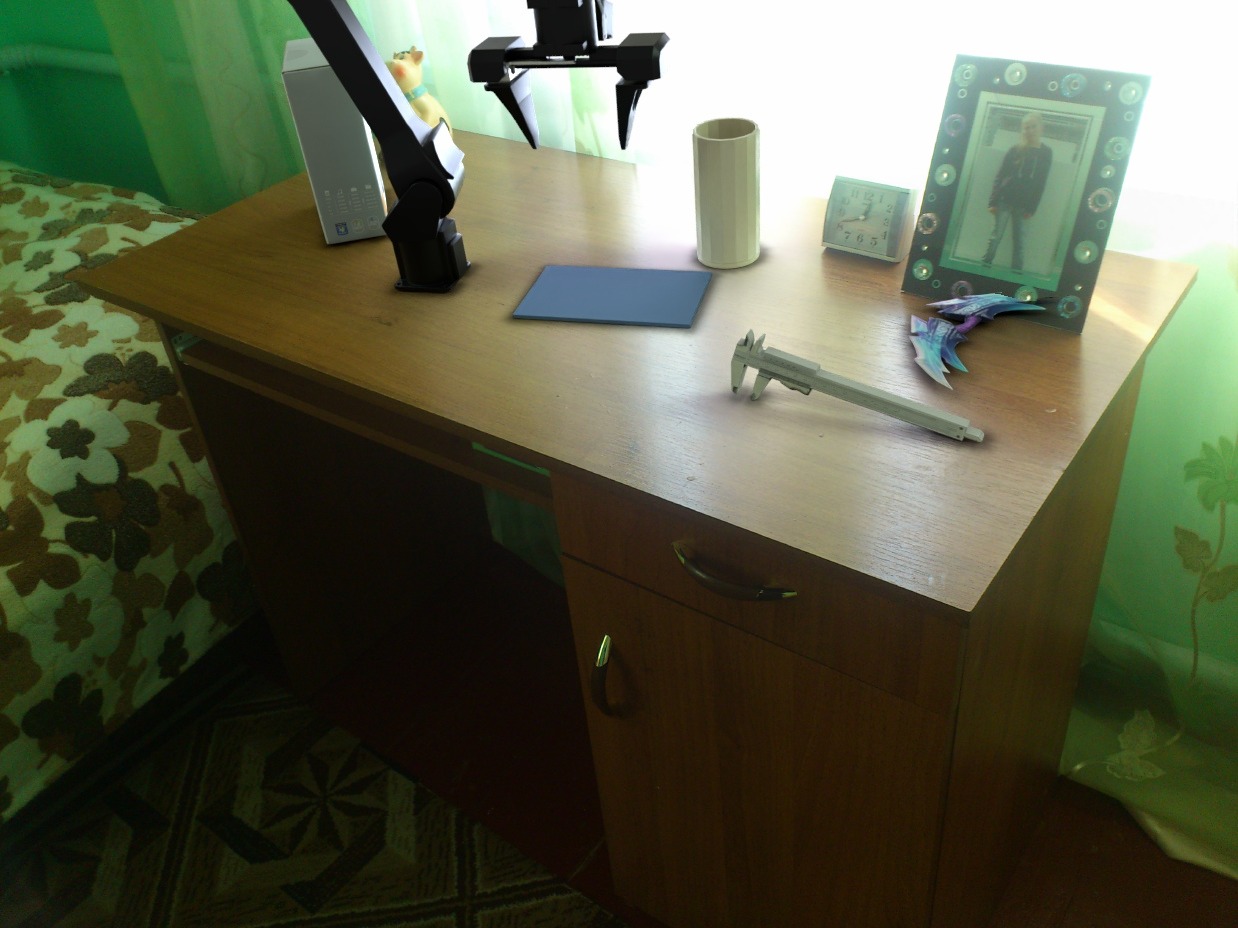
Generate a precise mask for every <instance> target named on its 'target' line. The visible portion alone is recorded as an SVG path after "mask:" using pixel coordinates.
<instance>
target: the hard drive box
mask: <svg viewBox="0 0 1238 928" xmlns="http://www.w3.org/2000/svg"><path fill="white" fill-rule="evenodd" d="M280 74H281V79H282V83H283V87H284V90H285V95H286V98H287V102H288V104H289V108H290V109H289V110H290V112H291V116H292V120H293V124H294V127H295V131H296V135H297V138H298V142H299V146H300V149H301V153H302V157H303V161H304V165H305V168H306V171H307V176H308V180H309V182H310V183H309V184H310V187H311V190H312V194H313V198H314V201H315V205H316V209H317V213H318V217H319V220H320V225H321V227H322V231H323V234H324V238H325V241H326V244H327V245H335V244H340V243H346V242H351V241H357V240H362V239H363V240H364V239H368V238H374V237H380V236H387V234H386V233H385V231H384V230H383V228H382V223H383V222H384V220H385V218H386V216H387V214H388V207H387V199H386V192H385V186H384V182H383V177H382V174H381V170H380V166H379V161H378V156H377V151H376V148H375V142H374V139H373V135H372V130H371V129H370V127H369V126H368V124H367V123H366V121H365V119H364V118H363V116H362V115H361V113H360V112H359V110H358V109H357V107H356V105H355V104H354V102H353V101H352V99H351V98H350V96H349V95H348V93H347V91H346V90H345V88H344V87H343V85H342V84H341V82H340V81H339V79H338V77H337V76H336V74H335V73H334V71H333V70H332V68H331V67H330V65H329V63H328V62H327V60H326V59H325V57H324V56H323V54H322V52H321V51H320V49H319V48H318V46H317V45H316V43H315V42H314V40H313V38H312V37H305V38H299V39H292V40H287V41H286V43H285V45H284V51H283V57H282V63H281V69H280Z"/></svg>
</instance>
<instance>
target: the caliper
mask: <svg viewBox="0 0 1238 928" xmlns="http://www.w3.org/2000/svg"><path fill="white" fill-rule="evenodd" d="M766 336H767V334H766V333H762V335H760V336H759V337H758V338H757V340H755V333H754V330H753V329H752V328H749V330H748V331H747V333H746V334H745V338H743V337H741V338H740V339H739V340H738V341H737V343H736V345H735V348H734V351H733V355H732V358H731V360H730V388H731V391H732V393H734V394H736V395H738V394H739V392H740V391H741V390H742V387H743V382H744V379H745V376H746V373H747V369H748V367H750V368H752V369H755V370H758V373H757V374H756V376H755V380H754V383H753V387H752V393H751V397H750V400H751V401H755V400H757V399H759V397H760V396H761V394H762V393H763V392H764V390H765V389H766V387H767V386H768V385H769V383H770V382H771V381H772V380H776V381H778V382H779V383H780V384H781V385H783V386H784V387H786V388H787V389H789V390H791V391H797V392H799V393H801V394H802V395H803V396H810V394H811V393H812V391H813V390H814V391H817V392H819V393H822V394H825V395H828V396H832V397H833V398H837V399H839V400H843V401H846V402H849V403H851V404H855V405H857V406H859V407H863V408H866V409H868V410H872V411H874V412H877V413H880V414H883V415H885V416H888V417H890V418H893V419H897V420H899V421H903V422H905V423H908V424H911V425H913V426H916V427H919V428H921V429H924V430H927V431H930V432H933V433H936V434H939V435H940V436H941V435H942V436H944V437H947V438H950V439H953V440H955V441H958V442H963V440H964V439H965V438H966V439H969V440H971V441H974V442H978V443H982V442H983V440H984V438H985V433H984V432H983V431H982V429H979V428H976V427H973V426H971V425H970V423H971V420H970V419H967V418H964V417H961V416H959V415H955V414H953V413H949V412H947V411H944V410H941V409H938V408H935V407H932V406H929V405H926V404H924V403H920V402H919V401H915V400H912V399H909V398H907V397H903V396H900V395H898V394H894V393H891V392H889V391H886V390H883V389H880V388H877V387H874V386H872V385H868V384H865V383H862V382H859V381H857V380H855V379H851V378H847V377H846V376H842V375H839V374H836V373H833V372H831V371H827V370H825V369H823V368H822V369H821V364H820V363H818V362H815V361H812V360H810V359H806V358H803V357H800V356H798V355H795V354H793V353H789V352H787V351H785V350H781V349H778V348H775V347H772V346H767V347H766V349H764V346H763V345H764V342H765V339H766Z"/></svg>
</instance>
